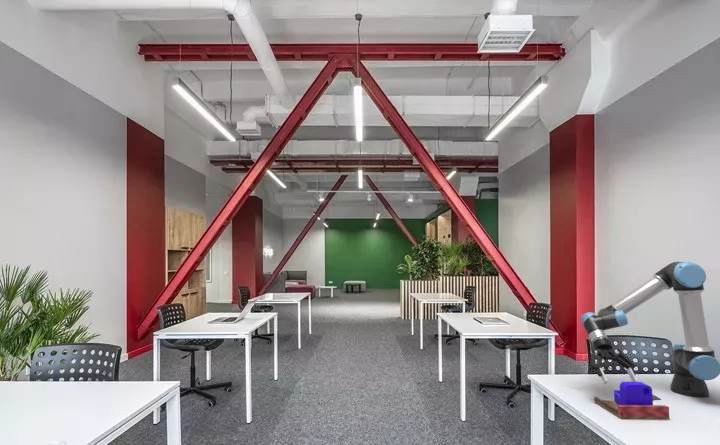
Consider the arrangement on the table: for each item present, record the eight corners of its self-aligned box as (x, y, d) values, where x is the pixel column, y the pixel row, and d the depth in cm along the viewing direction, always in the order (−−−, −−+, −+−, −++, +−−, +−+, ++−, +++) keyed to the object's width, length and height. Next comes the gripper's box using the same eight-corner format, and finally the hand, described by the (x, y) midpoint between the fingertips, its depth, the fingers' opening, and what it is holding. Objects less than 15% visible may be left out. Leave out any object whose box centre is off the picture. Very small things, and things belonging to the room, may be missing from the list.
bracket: (653, 414, 179) (652, 385, 180) (626, 413, 179) (625, 384, 180) (629, 399, 197) (628, 373, 198) (604, 399, 197) (603, 372, 198)
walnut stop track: (637, 402, 196) (637, 391, 196) (669, 419, 176) (668, 407, 176) (594, 402, 196) (594, 391, 196) (620, 419, 176) (620, 406, 176)
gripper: (622, 346, 210) (644, 386, 194) (572, 346, 210) (590, 386, 194) (629, 337, 205) (652, 378, 189) (577, 337, 205) (596, 378, 189)
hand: (620, 382), depth 192 cm, fingers open, 13 cm apart
